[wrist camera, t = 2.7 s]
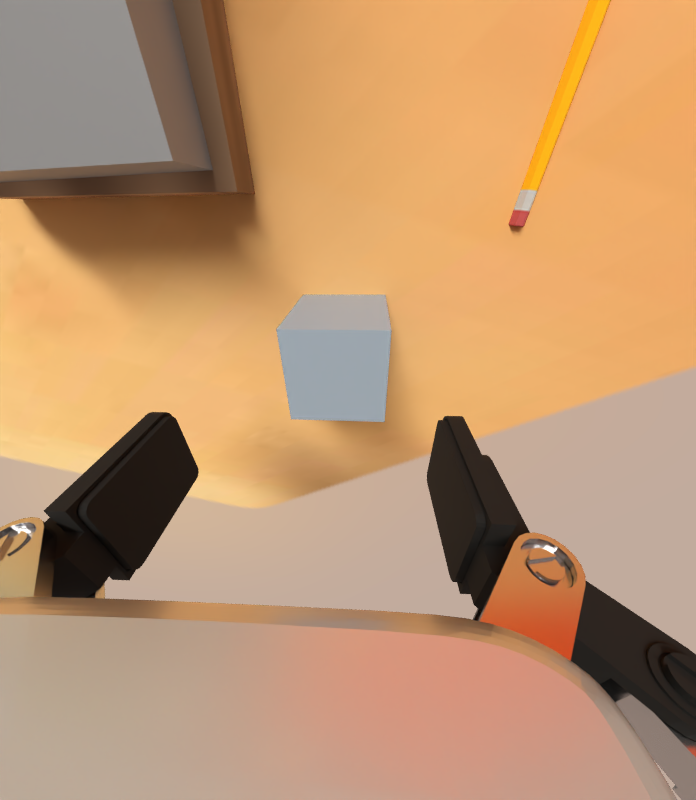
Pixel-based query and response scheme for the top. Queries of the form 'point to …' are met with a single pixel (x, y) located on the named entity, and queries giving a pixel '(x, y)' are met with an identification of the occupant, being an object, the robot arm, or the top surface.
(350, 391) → the slate block
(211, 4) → the walnut base slab
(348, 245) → the top surface
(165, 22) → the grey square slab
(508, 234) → the top surface
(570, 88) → the pencil
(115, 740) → the robot arm
